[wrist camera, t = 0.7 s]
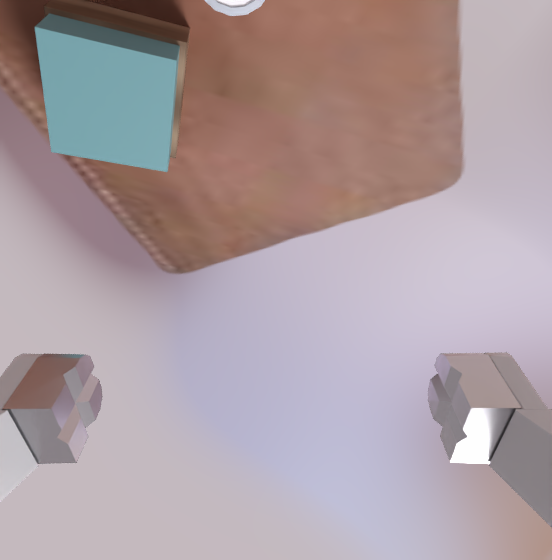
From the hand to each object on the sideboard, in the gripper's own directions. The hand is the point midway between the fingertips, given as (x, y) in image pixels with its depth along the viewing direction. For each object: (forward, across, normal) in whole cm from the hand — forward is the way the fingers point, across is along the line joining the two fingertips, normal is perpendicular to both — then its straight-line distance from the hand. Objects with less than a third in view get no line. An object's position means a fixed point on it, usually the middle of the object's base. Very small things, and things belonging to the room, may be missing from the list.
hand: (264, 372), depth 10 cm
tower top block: (+37, +15, 0) cm, 40 cm away
